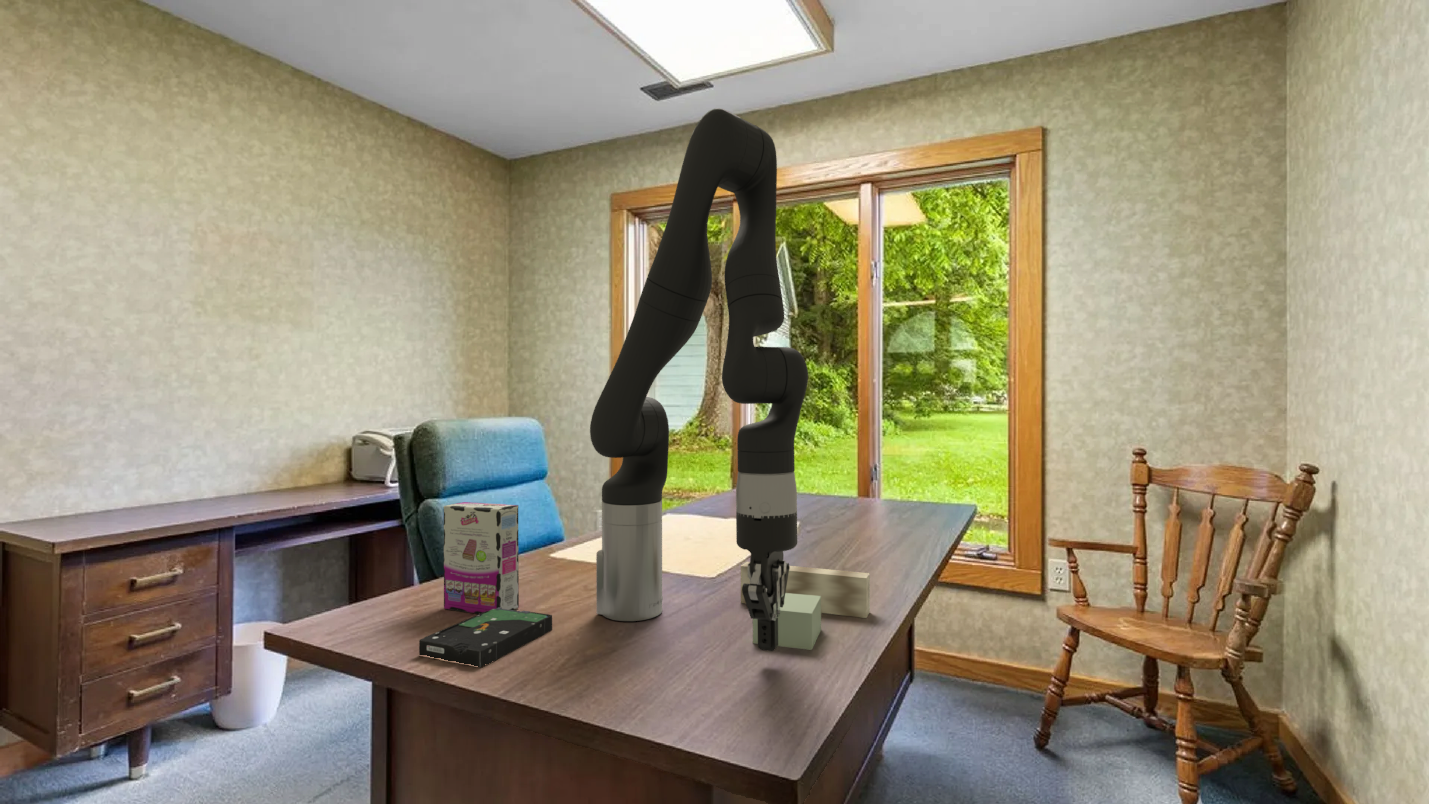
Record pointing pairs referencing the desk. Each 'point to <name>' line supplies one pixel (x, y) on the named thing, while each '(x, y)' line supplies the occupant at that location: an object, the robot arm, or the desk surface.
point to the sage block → (797, 621)
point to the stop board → (827, 588)
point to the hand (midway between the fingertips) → (768, 648)
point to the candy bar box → (481, 557)
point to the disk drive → (486, 636)
